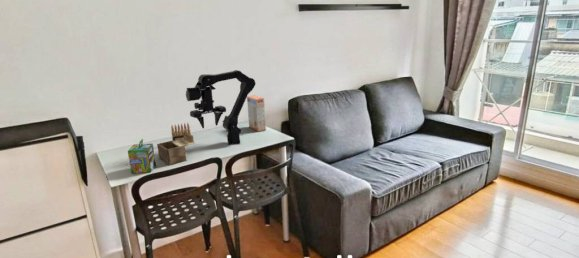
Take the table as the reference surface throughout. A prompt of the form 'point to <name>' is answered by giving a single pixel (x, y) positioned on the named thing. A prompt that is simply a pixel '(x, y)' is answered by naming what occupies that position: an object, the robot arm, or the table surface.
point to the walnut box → (171, 153)
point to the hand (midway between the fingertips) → (209, 126)
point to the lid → (184, 140)
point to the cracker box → (256, 113)
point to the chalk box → (141, 158)
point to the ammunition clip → (180, 131)
